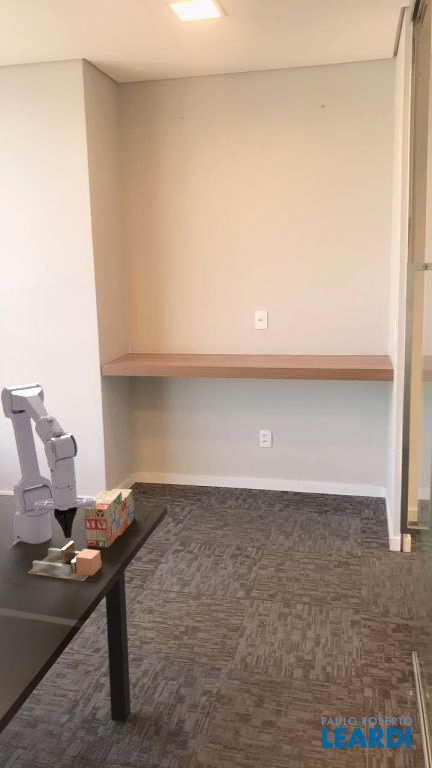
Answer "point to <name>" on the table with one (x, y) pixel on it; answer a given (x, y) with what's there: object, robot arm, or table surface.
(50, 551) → the channel deck
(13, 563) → the table surface
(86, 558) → the terracotta block
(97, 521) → the stack of blocks
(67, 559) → the sliding carriage
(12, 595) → the table surface
